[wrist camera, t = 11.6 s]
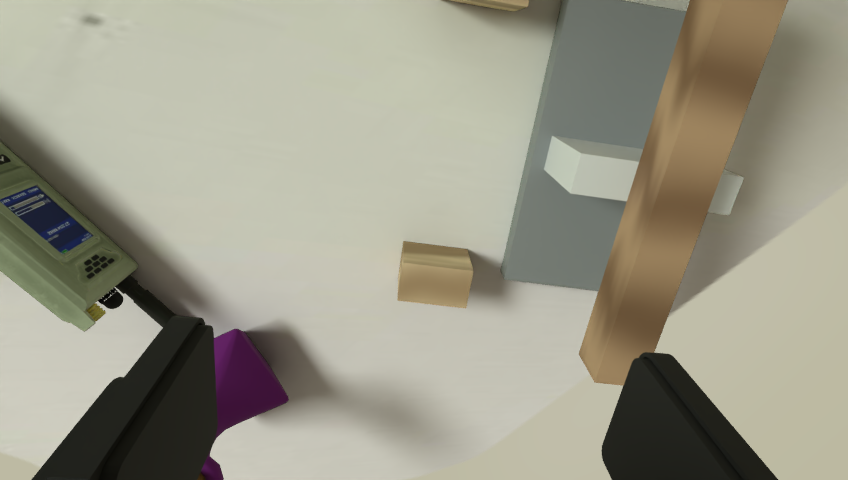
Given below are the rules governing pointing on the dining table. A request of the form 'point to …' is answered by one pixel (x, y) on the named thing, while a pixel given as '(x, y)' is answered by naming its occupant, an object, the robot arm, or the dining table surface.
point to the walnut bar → (677, 176)
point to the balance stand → (592, 140)
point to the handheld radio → (62, 251)
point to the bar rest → (438, 265)
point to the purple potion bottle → (240, 387)
